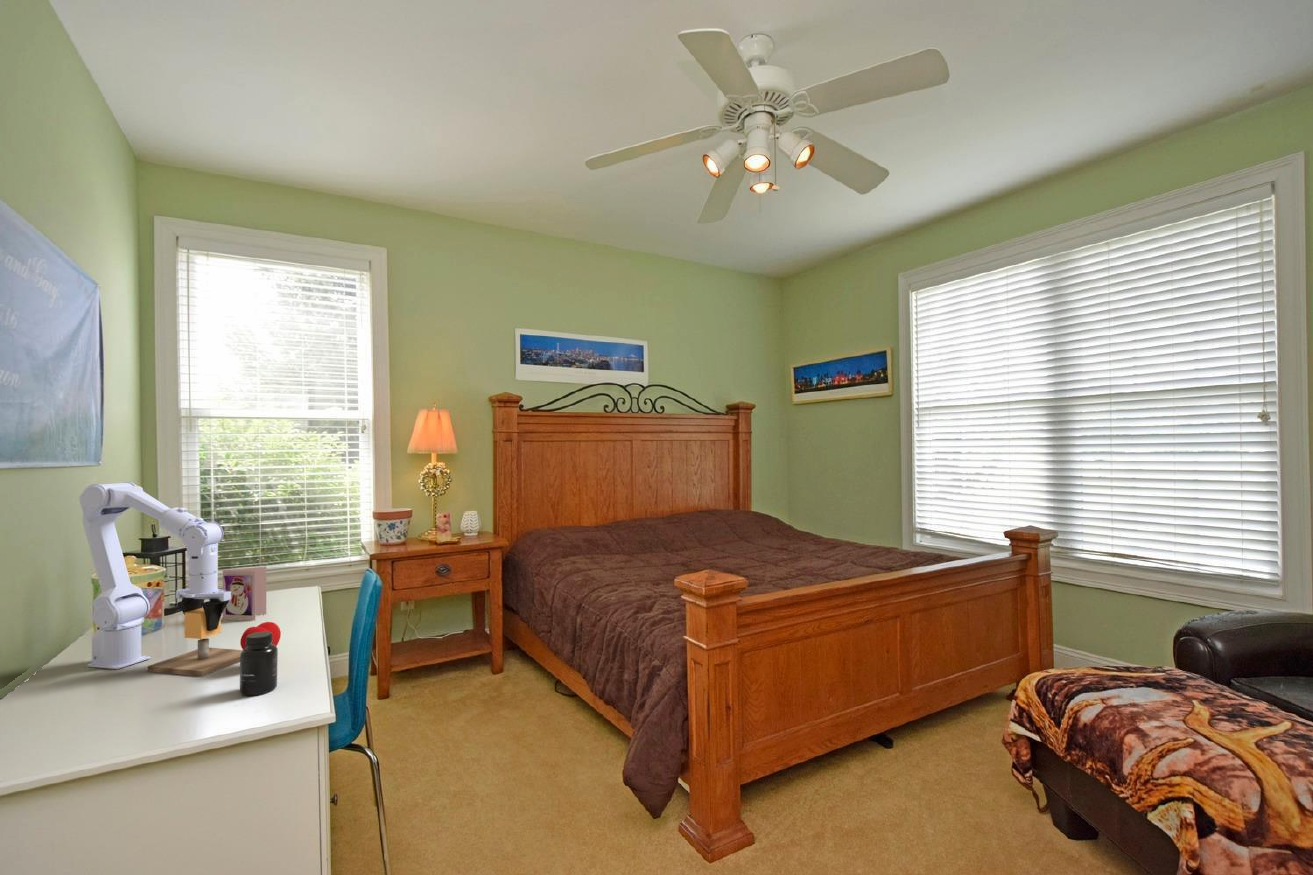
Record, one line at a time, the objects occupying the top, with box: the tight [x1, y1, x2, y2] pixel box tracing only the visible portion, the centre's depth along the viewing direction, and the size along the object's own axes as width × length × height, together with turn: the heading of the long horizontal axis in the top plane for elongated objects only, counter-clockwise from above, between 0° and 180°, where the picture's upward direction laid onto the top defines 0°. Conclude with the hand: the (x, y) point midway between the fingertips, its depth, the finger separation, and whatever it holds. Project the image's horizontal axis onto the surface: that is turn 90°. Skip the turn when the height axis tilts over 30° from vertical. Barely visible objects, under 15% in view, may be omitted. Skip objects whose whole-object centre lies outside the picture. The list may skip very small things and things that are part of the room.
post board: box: [147, 637, 243, 677], centre depth 149 cm, size 16×14×6 cm
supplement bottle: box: [239, 632, 279, 697], centre depth 132 cm, size 7×7×12 cm
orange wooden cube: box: [184, 607, 222, 640], centre depth 149 cm, size 5×5×6 cm
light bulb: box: [240, 621, 282, 650], centre depth 147 cm, size 9×7×10 cm
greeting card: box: [222, 566, 267, 621], centre depth 190 cm, size 11×7×15 cm, turn 81°
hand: (203, 629), depth 149 cm, fingers closed on orange wooden cube, 5 cm apart
